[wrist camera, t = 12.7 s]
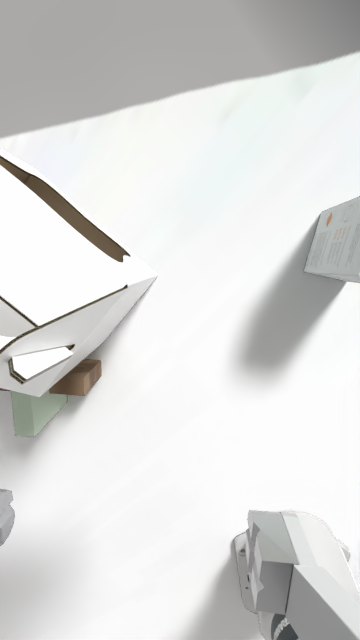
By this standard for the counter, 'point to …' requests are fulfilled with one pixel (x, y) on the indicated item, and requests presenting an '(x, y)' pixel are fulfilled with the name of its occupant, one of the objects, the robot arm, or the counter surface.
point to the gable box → (56, 280)
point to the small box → (337, 243)
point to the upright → (77, 379)
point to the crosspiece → (34, 411)
